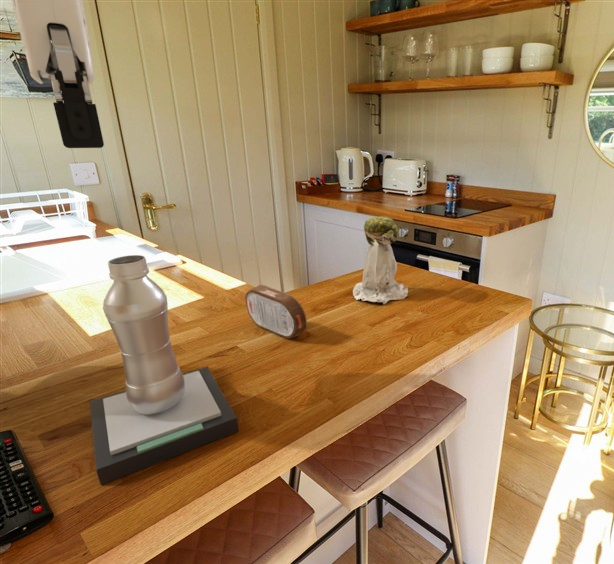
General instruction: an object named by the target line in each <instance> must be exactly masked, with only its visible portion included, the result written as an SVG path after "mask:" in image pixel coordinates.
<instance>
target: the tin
mask: <svg viewBox="0 0 614 564" xmlns="http://www.w3.org/2000/svg"><path fill="white" fill-rule="evenodd" d="M244 299H245V305H246V310H247V313H248V315H249V317H250V319H251V320H252V321H253V323H254V324H256V326H257V327H259V328H261V329H264V330H266V331H268V332H270V333H272V334H275V335H277V336H279V337H282V338H283V339H287V340H290V339H293V338H295V337H297V336H299V335H302V334H303V333H304V332H305V331H306V328H307V316H306V313H305V310H304V308H303V307H302V305H301V303H300V302H299V301H298V300H297V299H296V297H294V296H293V295H291V294H289V293H286V292H284V291H282V290H278V289H275V288H273V287H270V286H268V285H266V284H258V285H257V286H255V287H253V288H251V289H249V290H247V292H245V296H244Z"/></svg>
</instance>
